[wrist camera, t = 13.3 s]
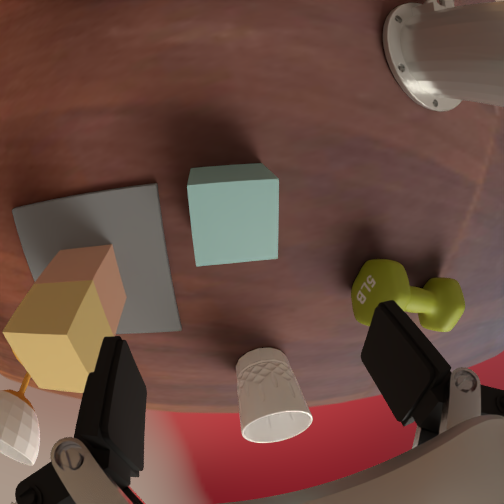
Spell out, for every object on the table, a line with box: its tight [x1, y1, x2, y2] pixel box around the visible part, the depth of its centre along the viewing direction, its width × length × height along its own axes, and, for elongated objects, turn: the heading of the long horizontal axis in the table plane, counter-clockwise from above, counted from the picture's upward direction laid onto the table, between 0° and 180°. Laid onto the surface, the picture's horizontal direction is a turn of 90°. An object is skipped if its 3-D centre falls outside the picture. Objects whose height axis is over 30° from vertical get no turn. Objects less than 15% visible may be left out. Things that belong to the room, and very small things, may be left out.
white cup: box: [236, 348, 313, 443], centre depth 31 cm, size 8×8×10 cm
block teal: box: [187, 163, 279, 266], centre depth 22 cm, size 6×6×6 cm
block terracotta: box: [34, 244, 127, 336], centre depth 22 cm, size 6×6×6 cm
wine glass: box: [0, 349, 40, 465], centre depth 23 cm, size 9×9×16 cm
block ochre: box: [2, 280, 114, 393], centre depth 17 cm, size 6×6×6 cm
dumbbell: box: [351, 259, 465, 332], centre depth 30 cm, size 16×8×7 cm, turn 71°
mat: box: [12, 183, 182, 334], centre depth 25 cm, size 16×16×1 cm
